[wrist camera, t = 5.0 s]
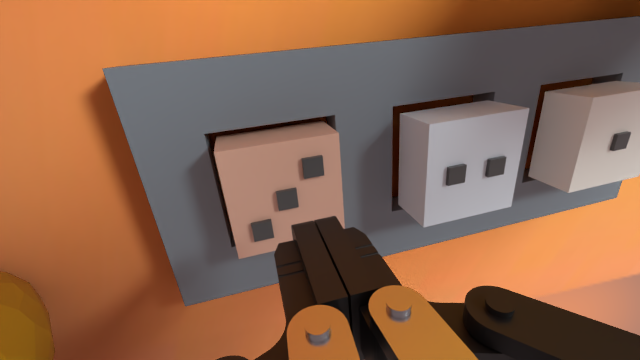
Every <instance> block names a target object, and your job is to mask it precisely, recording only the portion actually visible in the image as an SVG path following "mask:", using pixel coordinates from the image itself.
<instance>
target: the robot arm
mask: <svg viewBox="0 0 640 360" xmlns="http://www.w3.org/2000/svg"><path fill="white" fill-rule="evenodd" d="M291 230H292V237H293V240H292V241H287V242H283V243H279V244H278V246H277V248H276V251H275V253H274V258H275V263H276V269H277V274H278V280H279V285H280V291H281V296H282V301H283V307H284V312H285V317H286V327H285V331H284V333H283V335H282V337H281V338H280V340H279V341H278V342H277V343H276V345H274V346H273V347H272V348H271V349H270V350H268V351H267V352H266V353H264V354H262V355H261V356H259V357H258V358H256V359H254V360H640V336H639V335H636V334H633V333H630V332H628V331H624V330H622V329H619V328H616V327H613V326H610V325H607V324H605V323H602V322H599V321H596V320H593V319H590V318H587V317H584V316H581V315H578V314H576V313H573V312H570V311H567V310H564V309H561V308H558V307H555V306H553V305H550V304H547V303H544V302H541V301H538V300H535V299H532V298H529V297H527V296H524V295H521V294H518V293H515V292H512V291H509V290H506V289H503V288H500V287H495V286H479V287H476V288H473V289H472V290H470V291H469V292H468V293H467V295H466V298H465V303H435V302H429V301H427V300H426V299H425V298H424V297H423V296H422V295H421V294H419V293H418V292H417V291H415V290H413V289H411V288H408V287H404V286H402V285H401V284H400V282H399V281H398V279H397V278H396V277H395V275H394V274H393V272H392V271H391V269H390V268H389V267H388V265H387V264H386V262H385V261H384V260H383V258H382V257H381V255H380V254H378V251H377V250H376V248H375V247H374V246H373V245H372V243H371V241H370V240H369V238H368V237H367V236H366V234H365V233H363V232H361V231H360V230H358V229H356V228H355V227H351V228H346V229H343V227H342V225H341V224H340V222H339V220H338V219H337V217H336V216H331V217H327V218H322V219H317V220H314V222H313V221H308V222H303V223H298V224H294V225H291ZM216 360H248V359H246V358H244V357H241V356H226V357H222V358H219V359H216Z"/></svg>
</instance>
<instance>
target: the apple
mask: <svg viewBox="0 0 640 360" xmlns="http://www.w3.org/2000/svg"><path fill="white" fill-rule="evenodd" d="M54 352H55V349H54V343H53V337H52V331H51V325H50V319H49V313H48V311H47V309H46V307H45V305H44V303H43V302H42V300H41V298H40V296H39V295H38V294H37V292H36V291H35V290H34V288H33V287H32V286H31V285H30V283H28V282H26V281H24V280H22V279H20V278H18V277H16V276H13V275H11V274H9V273H7V272H0V360H53V358H54Z"/></svg>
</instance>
